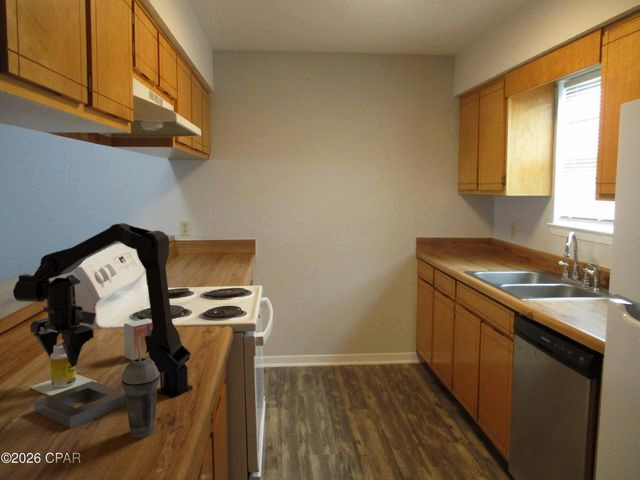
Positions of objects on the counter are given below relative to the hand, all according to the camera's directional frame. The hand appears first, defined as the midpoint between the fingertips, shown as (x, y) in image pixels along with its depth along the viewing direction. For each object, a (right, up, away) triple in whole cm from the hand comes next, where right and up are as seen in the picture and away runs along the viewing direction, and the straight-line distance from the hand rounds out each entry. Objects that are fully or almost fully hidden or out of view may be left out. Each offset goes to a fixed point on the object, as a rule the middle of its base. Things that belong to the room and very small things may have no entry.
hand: (63, 362), depth 123 cm
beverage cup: (+29, -9, -23) cm, 38 cm away
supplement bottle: (0, -6, 0) cm, 6 cm away
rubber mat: (0, -6, +1) cm, 6 cm away
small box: (+12, -4, +23) cm, 26 cm away
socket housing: (+11, -7, -12) cm, 18 cm away
